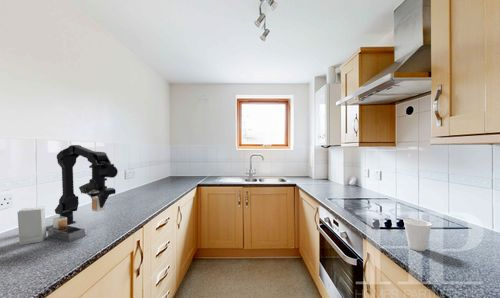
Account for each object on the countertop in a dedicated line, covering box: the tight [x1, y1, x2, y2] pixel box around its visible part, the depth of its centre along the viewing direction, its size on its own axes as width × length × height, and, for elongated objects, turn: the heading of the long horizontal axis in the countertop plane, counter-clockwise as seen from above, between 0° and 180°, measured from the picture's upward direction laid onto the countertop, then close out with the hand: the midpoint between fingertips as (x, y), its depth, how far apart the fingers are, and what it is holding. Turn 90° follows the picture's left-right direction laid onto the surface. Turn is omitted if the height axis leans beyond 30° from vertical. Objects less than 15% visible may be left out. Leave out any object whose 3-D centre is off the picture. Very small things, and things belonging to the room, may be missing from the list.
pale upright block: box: [91, 196, 106, 213], centre depth 126 cm, size 4×4×7 cm
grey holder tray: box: [47, 216, 86, 242], centre depth 117 cm, size 16×7×8 cm, turn 66°
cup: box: [403, 218, 433, 252], centre depth 103 cm, size 10×10×11 cm
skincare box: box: [17, 206, 47, 246], centre depth 111 cm, size 8×6×15 cm
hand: (98, 207), depth 126 cm, fingers closed on pale upright block, 4 cm apart
